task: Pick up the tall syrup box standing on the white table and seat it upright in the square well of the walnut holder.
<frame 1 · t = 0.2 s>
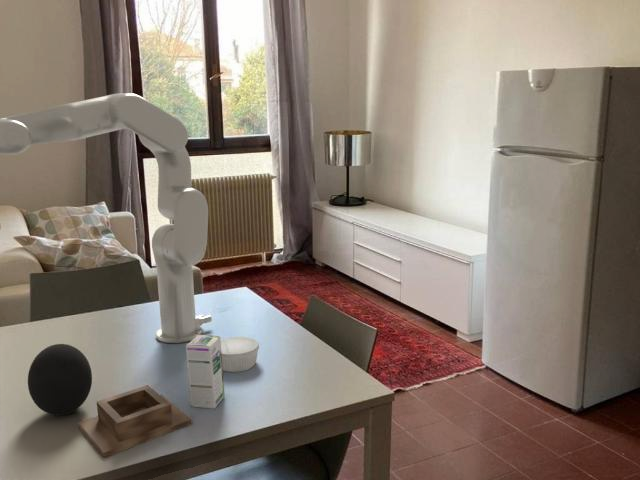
ramekin: (236, 365, 149), on the table
walnut holder: (135, 425, 121), on the table
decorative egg: (64, 412, 127), on the table
syrup box: (207, 402, 130), on the table
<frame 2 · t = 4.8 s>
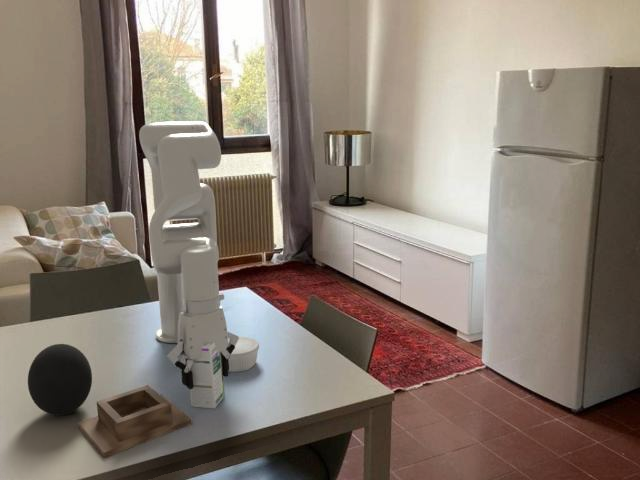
hand: (206, 380, 129), 5 cm above the table, fingers closed on syrup box, 8 cm apart
syrup box: (207, 402, 130), on the table, touching gripper
everything else where it was.
when the fingers open (7 cm above the table, at t = 11.3 s): syrup box stays where it is, resting on walnut holder.
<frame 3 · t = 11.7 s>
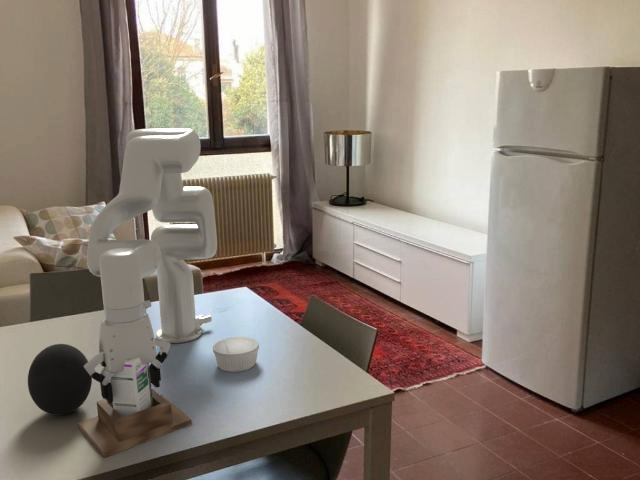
hand: (132, 392, 120), 7 cm above the table, fingers open, 9 cm apart
syrup box: (134, 421, 121), point 1 cm above the table, touching walnut holder
everything else where it was.
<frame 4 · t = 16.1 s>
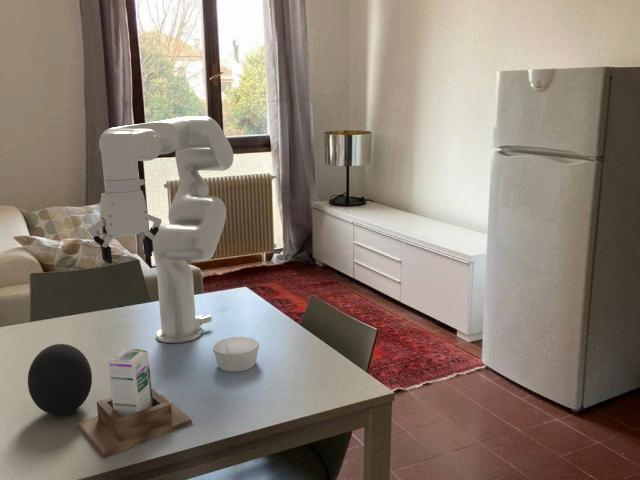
hand: (128, 258, 139), 28 cm above the table, fingers open, 9 cm apart
nothing on the table moved.
at the end: syrup box 0.1 cm off-centre on the walnut holder, point 0.8 cm above the walnut holder's base; syrup box tilted 0°; the gripper is holding nothing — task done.
